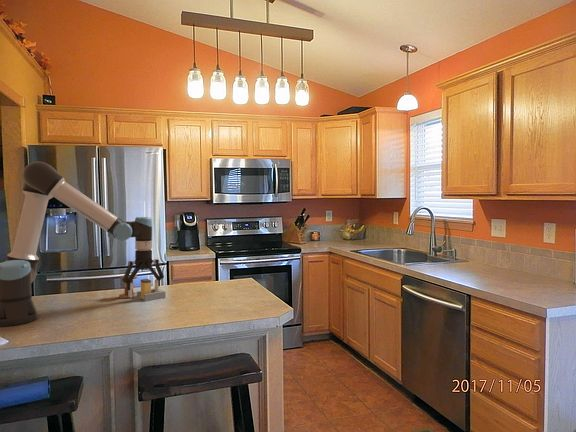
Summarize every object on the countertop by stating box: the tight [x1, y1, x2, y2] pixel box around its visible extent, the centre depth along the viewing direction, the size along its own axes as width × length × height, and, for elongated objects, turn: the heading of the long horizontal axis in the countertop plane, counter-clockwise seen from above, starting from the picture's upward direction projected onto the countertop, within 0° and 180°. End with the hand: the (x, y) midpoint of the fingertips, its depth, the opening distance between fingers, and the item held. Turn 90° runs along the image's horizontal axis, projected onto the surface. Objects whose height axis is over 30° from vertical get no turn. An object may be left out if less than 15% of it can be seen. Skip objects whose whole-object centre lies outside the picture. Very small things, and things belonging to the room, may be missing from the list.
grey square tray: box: [136, 288, 167, 302], centre depth 200 cm, size 10×10×3 cm
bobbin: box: [118, 274, 138, 300], centre depth 203 cm, size 9×9×10 cm
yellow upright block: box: [140, 278, 152, 300], centre depth 198 cm, size 3×5×9 cm, turn 40°
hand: (143, 295), depth 198 cm, fingers open, 12 cm apart
